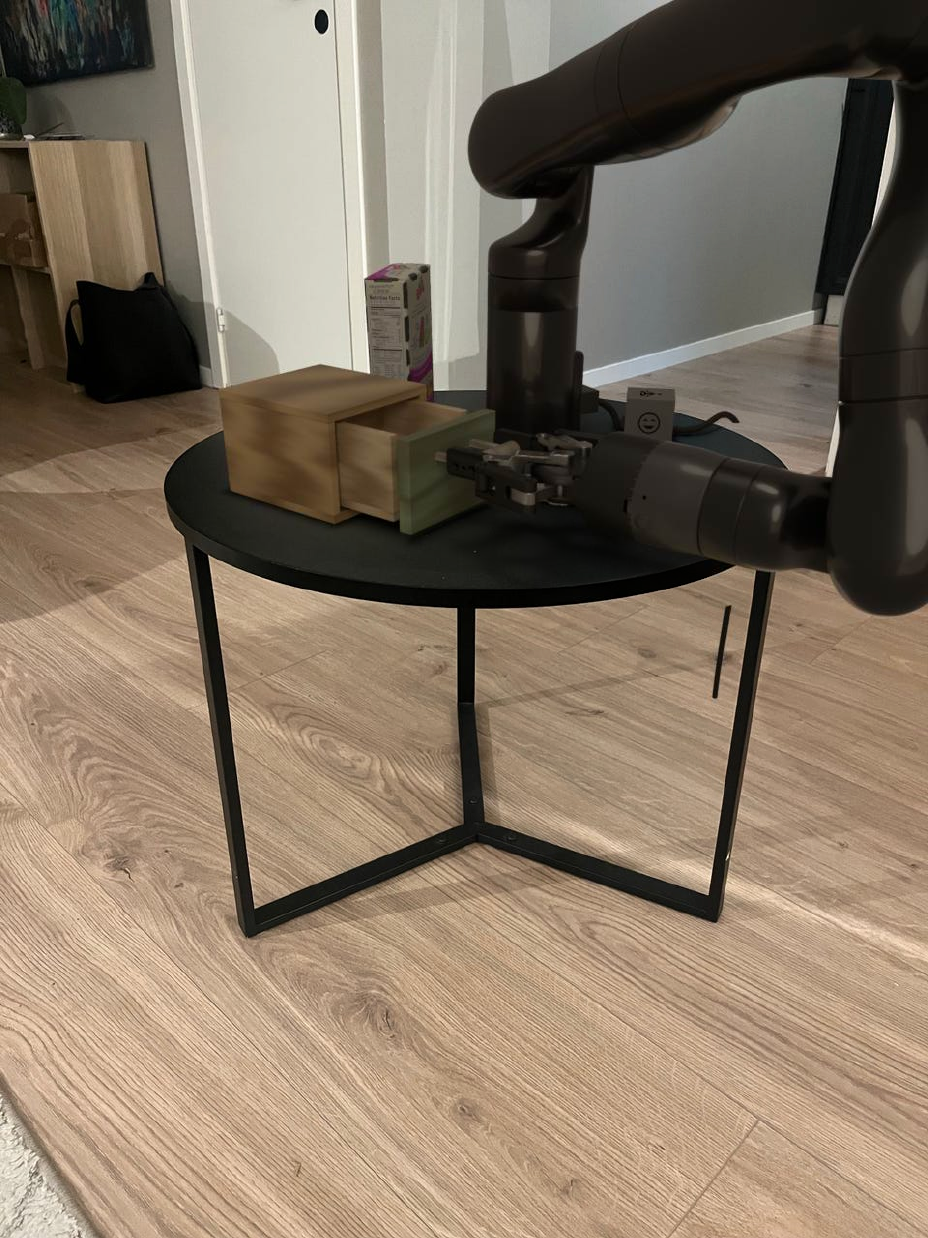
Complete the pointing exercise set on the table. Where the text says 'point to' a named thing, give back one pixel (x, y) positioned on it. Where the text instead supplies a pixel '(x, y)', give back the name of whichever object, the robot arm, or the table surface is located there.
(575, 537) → the table surface
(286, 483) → the cabinet
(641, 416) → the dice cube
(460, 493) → the drawer
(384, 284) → the candy bar box
